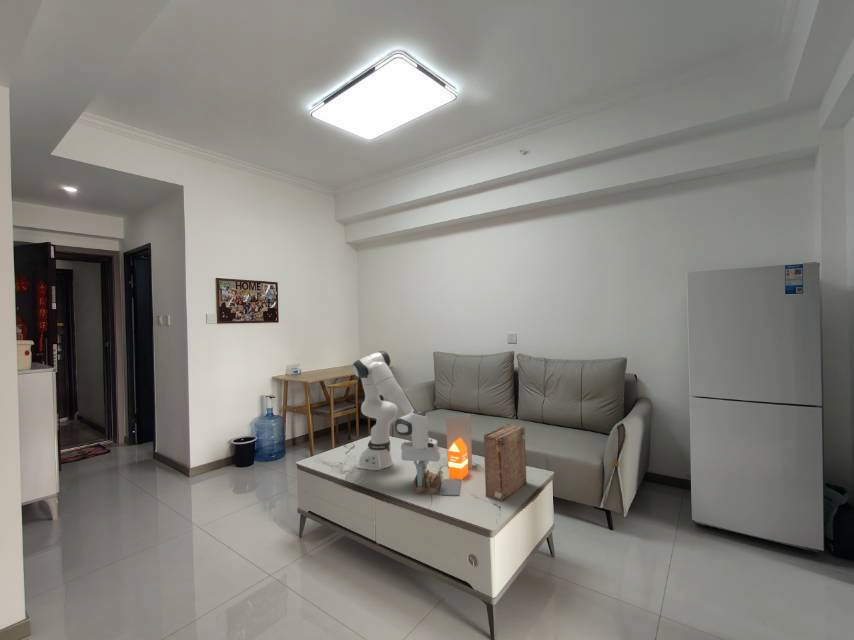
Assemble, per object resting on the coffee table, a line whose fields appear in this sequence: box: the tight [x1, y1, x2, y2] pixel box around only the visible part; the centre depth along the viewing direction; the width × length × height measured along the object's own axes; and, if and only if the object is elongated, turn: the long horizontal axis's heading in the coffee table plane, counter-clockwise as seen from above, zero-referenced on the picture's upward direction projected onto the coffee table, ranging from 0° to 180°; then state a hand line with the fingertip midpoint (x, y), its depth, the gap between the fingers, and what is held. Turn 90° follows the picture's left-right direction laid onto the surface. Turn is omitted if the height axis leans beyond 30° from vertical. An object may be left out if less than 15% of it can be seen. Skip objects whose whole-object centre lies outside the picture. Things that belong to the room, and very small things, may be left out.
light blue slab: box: [416, 461, 427, 487], centre depth 205 cm, size 2×12×13 cm, turn 171°
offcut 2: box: [431, 473, 438, 488], centre depth 204 cm, size 2×9×6 cm, turn 171°
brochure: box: [445, 413, 473, 469], centre depth 230 cm, size 14×6×30 cm, turn 84°
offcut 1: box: [426, 471, 434, 487], centre depth 204 cm, size 2×10×6 cm, turn 171°
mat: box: [438, 478, 462, 497], centre depth 202 cm, size 10×18×1 cm, turn 171°
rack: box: [413, 469, 442, 495], centre depth 204 cm, size 12×16×6 cm
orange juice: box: [447, 438, 469, 480], centre depth 218 cm, size 8×9×20 cm
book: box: [483, 423, 527, 502], centre depth 198 cm, size 25×9×30 cm, turn 139°
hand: (421, 468), depth 205 cm, fingers closed on light blue slab, 2 cm apart
